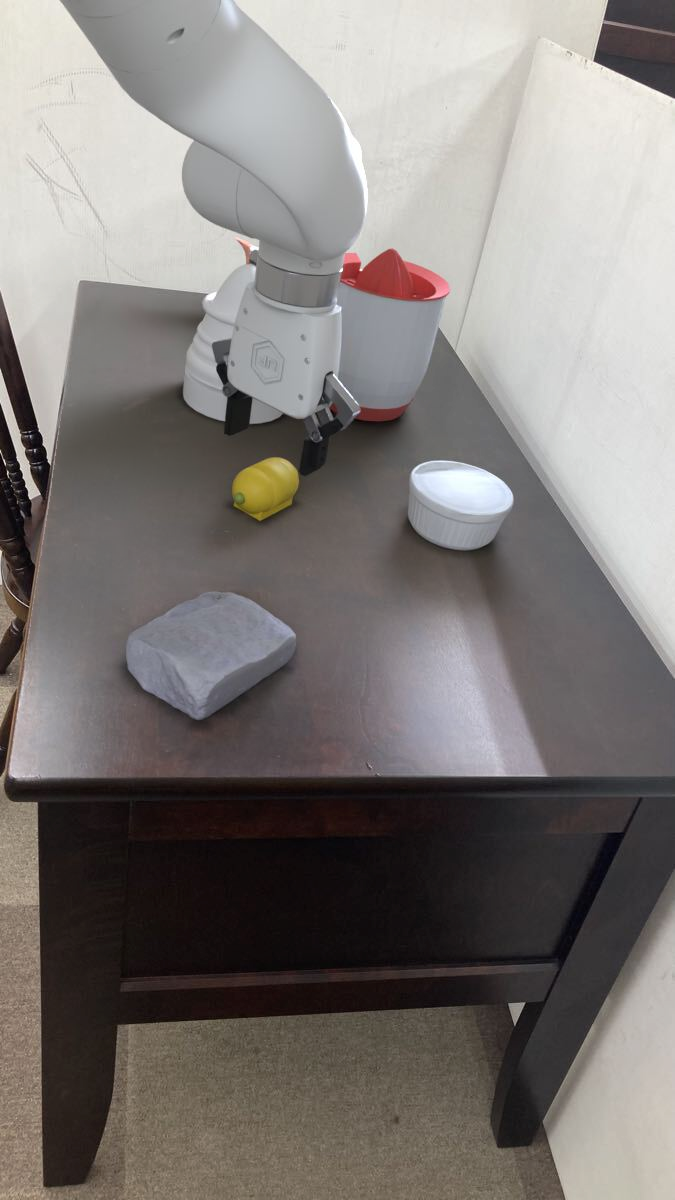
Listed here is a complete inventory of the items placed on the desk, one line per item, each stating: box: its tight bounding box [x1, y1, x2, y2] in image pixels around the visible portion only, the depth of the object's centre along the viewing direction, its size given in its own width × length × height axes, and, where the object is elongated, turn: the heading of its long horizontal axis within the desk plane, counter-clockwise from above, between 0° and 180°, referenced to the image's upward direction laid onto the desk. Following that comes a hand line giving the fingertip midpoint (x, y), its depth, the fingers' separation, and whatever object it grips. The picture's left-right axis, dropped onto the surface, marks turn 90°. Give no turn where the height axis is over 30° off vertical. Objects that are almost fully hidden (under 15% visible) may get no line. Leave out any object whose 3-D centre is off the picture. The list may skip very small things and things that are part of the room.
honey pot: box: [182, 245, 284, 425], centre depth 106 cm, size 13×13×18 cm
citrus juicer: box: [329, 247, 451, 422], centre depth 112 cm, size 16×17×20 cm
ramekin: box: [407, 460, 515, 551], centre depth 95 cm, size 11×11×5 cm
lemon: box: [231, 456, 300, 522], centre depth 92 cm, size 10×5×5 cm, turn 144°
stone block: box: [125, 590, 297, 721], centre depth 71 cm, size 12×5×10 cm
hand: (272, 451), depth 89 cm, fingers open, 9 cm apart
